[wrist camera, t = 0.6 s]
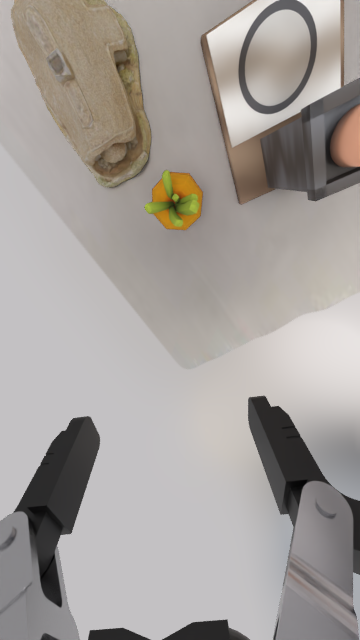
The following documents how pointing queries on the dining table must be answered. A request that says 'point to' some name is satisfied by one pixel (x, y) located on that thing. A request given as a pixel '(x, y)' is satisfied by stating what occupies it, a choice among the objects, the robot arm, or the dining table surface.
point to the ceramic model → (88, 81)
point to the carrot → (176, 200)
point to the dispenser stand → (282, 95)
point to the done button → (347, 139)
